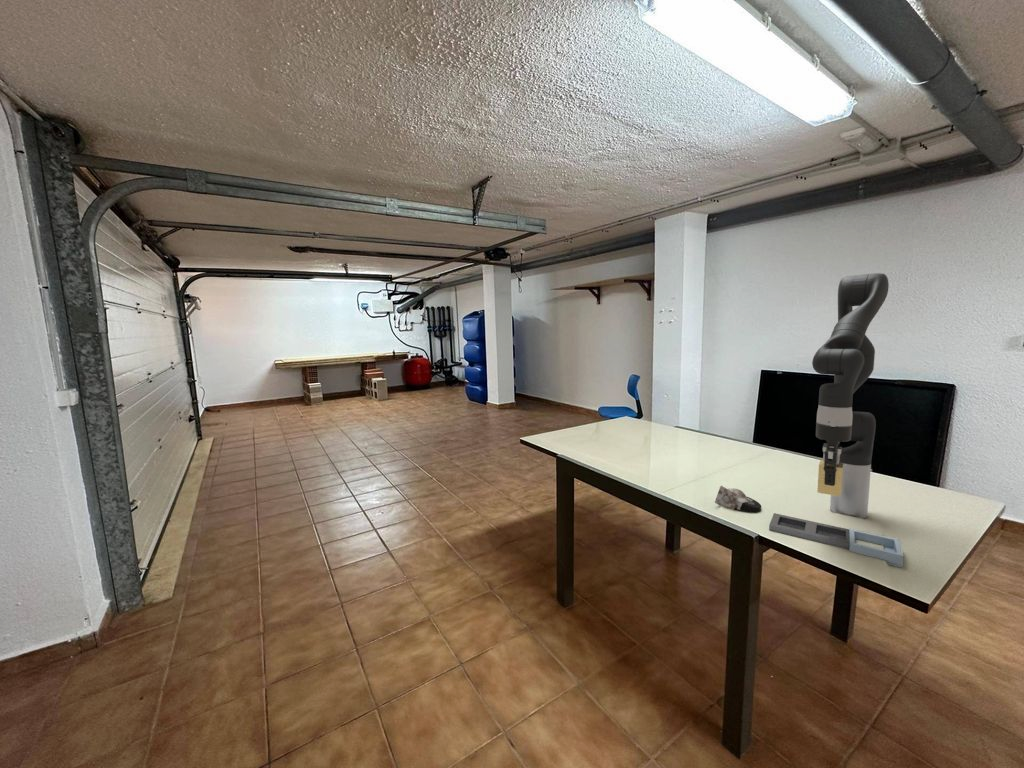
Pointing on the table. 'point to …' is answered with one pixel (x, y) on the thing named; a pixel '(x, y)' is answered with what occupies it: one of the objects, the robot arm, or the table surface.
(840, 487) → the tan wooden block
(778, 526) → the grey slotted tray
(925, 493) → the table surface
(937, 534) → the table surface
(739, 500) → the camo sneaker
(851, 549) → the parts tray
